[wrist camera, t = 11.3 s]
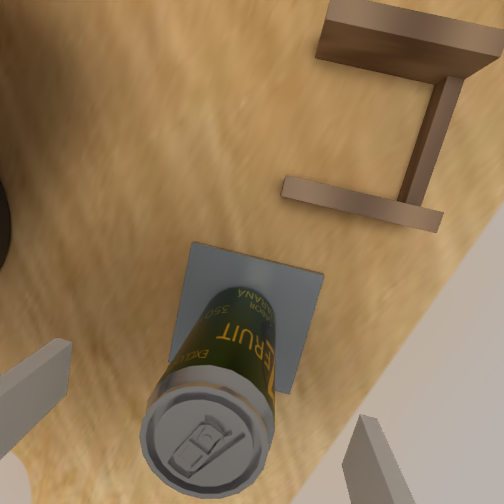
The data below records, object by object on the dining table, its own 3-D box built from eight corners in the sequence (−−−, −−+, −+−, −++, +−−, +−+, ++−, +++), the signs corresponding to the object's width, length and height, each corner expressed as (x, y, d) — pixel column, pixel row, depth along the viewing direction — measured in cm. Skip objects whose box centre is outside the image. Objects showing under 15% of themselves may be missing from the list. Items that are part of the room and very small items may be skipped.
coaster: (170, 358, 25) (168, 362, 24) (194, 241, 23) (191, 242, 22) (289, 389, 25) (289, 394, 24) (323, 273, 23) (324, 275, 22)
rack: (280, 195, 22) (281, 195, 17) (319, 38, 20) (332, -7, 15) (404, 225, 22) (436, 233, 17) (457, 68, 20) (509, 30, 15)
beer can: (245, 363, 24) (215, 527, 12) (192, 321, 24) (107, 447, 12) (290, 314, 23) (304, 442, 11) (234, 269, 23) (188, 351, 11)
